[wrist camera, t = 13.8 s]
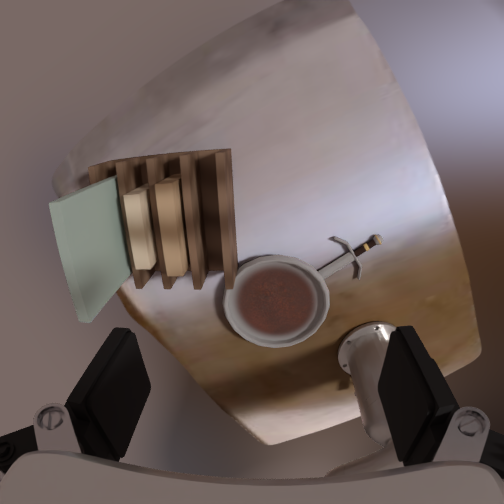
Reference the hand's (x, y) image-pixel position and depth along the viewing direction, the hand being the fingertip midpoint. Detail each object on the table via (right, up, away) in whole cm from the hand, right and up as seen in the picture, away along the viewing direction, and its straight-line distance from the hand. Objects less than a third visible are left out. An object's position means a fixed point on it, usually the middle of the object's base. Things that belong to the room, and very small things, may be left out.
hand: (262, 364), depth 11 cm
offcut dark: (-10, +9, +35) cm, 38 cm away
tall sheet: (-19, +9, +36) cm, 41 cm away
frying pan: (+8, -1, +40) cm, 41 cm away
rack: (-12, +10, +36) cm, 39 cm away
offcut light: (-14, +9, +35) cm, 39 cm away
